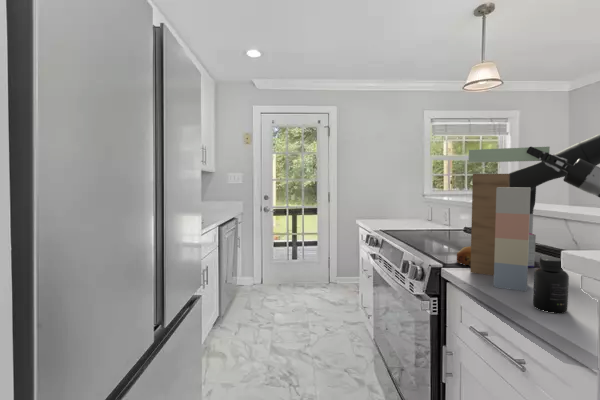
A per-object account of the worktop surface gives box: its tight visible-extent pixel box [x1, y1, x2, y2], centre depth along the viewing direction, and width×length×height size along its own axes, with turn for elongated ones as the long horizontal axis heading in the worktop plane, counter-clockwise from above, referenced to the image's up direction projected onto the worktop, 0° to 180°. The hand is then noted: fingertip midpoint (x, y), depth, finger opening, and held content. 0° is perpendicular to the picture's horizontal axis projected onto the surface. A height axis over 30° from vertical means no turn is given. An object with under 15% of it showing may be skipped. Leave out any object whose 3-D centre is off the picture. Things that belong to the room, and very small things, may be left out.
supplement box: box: [528, 233, 537, 269], centre depth 133 cm, size 6×6×12 cm
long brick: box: [468, 146, 551, 164], centre depth 119 cm, size 4×22×4 cm, turn 58°
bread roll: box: [456, 245, 471, 267], centre depth 137 cm, size 10×10×8 cm
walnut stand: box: [469, 173, 510, 276], centre depth 123 cm, size 8×10×32 cm
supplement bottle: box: [532, 256, 570, 314], centre depth 89 cm, size 7×7×12 cm
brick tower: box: [493, 187, 531, 292], centre depth 108 cm, size 8×8×28 cm
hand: (528, 149), depth 116 cm, fingers closed on long brick, 4 cm apart
